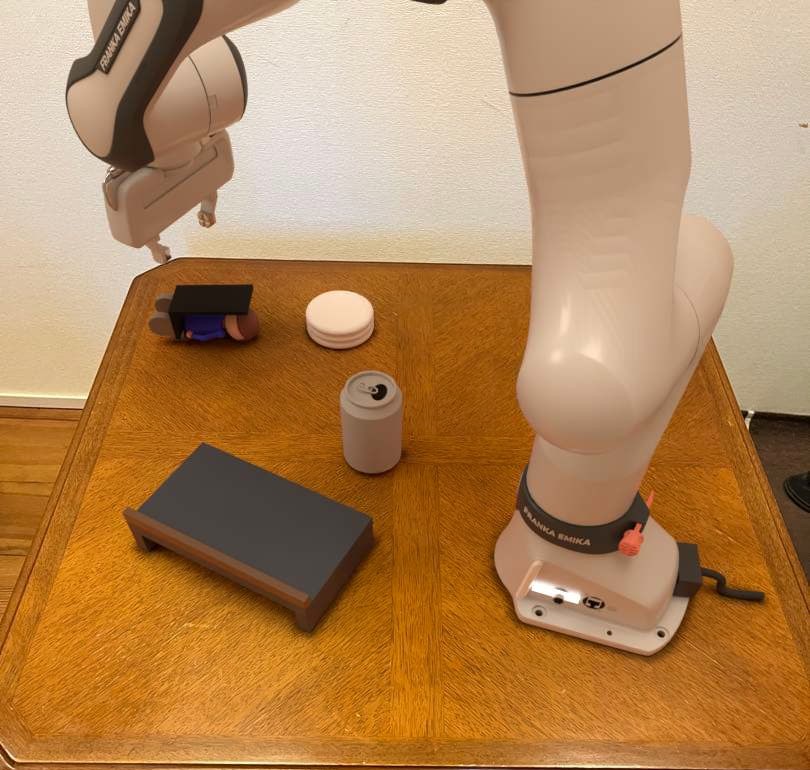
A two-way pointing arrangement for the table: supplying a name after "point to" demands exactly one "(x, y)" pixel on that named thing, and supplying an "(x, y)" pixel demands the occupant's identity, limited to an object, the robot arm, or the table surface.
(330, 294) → the coaster
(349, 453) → the can
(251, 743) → the table surface
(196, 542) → the shelf
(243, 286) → the figurine character
